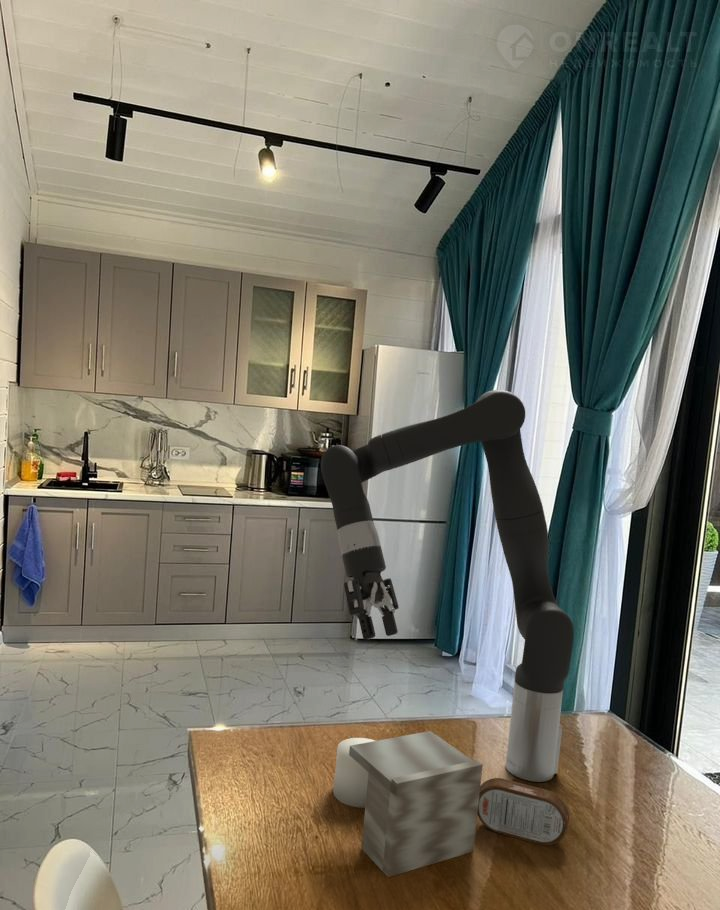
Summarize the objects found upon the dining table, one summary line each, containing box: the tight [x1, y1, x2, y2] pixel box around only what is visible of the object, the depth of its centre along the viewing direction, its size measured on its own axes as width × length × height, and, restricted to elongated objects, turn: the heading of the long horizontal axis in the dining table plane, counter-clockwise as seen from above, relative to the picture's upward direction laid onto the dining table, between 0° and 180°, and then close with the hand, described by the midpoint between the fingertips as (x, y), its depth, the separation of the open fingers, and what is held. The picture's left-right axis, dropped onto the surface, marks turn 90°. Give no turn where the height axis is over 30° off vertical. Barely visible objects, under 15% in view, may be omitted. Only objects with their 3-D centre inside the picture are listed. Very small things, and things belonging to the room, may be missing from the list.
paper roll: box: [333, 737, 376, 809], centre depth 128 cm, size 9×9×8 cm
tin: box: [477, 777, 570, 846], centre depth 119 cm, size 15×3×8 cm, turn 71°
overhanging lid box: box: [349, 730, 484, 878], centre depth 115 cm, size 16×14×14 cm
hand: (381, 636), depth 131 cm, fingers open, 8 cm apart
